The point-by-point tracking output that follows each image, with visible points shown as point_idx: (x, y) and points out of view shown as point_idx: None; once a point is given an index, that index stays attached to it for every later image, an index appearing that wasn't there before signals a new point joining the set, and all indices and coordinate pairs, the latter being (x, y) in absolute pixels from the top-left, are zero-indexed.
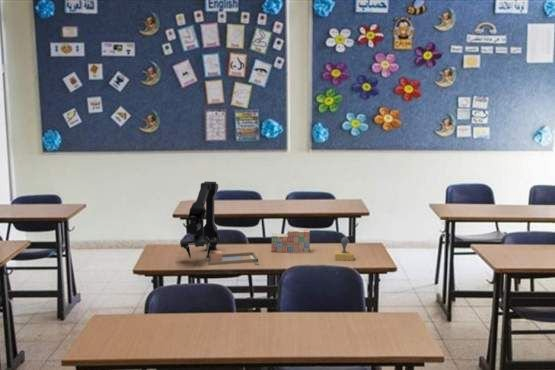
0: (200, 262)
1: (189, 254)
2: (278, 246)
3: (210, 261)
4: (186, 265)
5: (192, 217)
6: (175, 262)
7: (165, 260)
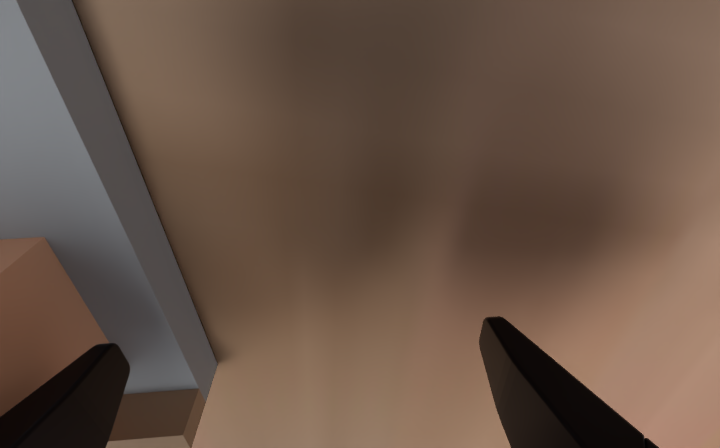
0: (291, 308)
1: (578, 403)
2: None
3: (53, 238)
4: (534, 203)
5: None
6: (628, 339)
7: (695, 399)
